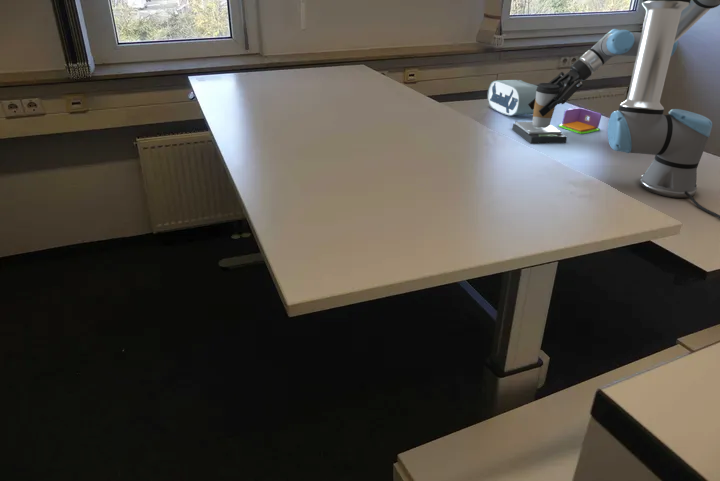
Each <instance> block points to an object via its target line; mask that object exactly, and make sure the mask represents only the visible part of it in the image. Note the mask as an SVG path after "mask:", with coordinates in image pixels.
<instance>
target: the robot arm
mask: <svg viewBox="0 0 720 481" xmlns="http://www.w3.org/2000/svg"><path fill="white" fill-rule="evenodd" d="M641 5H642V7H643V8H644V9H645V16H644V21H643V24H642V29H641V32H636V31H635V32H634V31H631V30H628V29H617V28H612V29H611V30H610V31H609V32H607V33H605V34H604V36H602V38H601V39H599V40H598V41H597V42H596V43H595V44H594V45H593V46H592V47H591V48H589V49H588V50H587V51H586V52H584V53H583V54H582V55H581V56H580V57H579V59H577V60H575V61H574V62H573V63H572V64H571V65H570V66H569V69H570V70H569V71H567V72H566V73H564V71H561V72H559V74H557V76H555V77H553V79H551V80H550V81H549V82H548V83H552V84H556V85H559V89H560V91H559V93H558V95H557V96H556V97H554V99H555V100H554V99H552V100H550V101H549V102H548V103H547V104H546V105H545V106H544V107H542V108H541V109H540V110H539V113H540V114H541V115H542V116H544V115H546V114H547V113H548V112H549V111H550V110H551V109H553V108H554V107H555V108H556V107H557V105H560V104H561V105H564V104H566V102H568V100H569V99H570V98H571V97H572V96H574V94H575V93H576V92H577V91H578V90H579V89H580V88H582V87H583V86H584V83H583V82H585V81H587V79H589V78H590V77H591V76H592V74H594V73H595V72H596V71H598V70H600V68H601V67H602V66H604V64H605V63H607V62H608V61H609V60H610V59H612V58H613V57H615V56H626V57H627V56H628V57H635V61H634V65H633V70H632V75H631V79H630V83H629V88H628V92H627V96H626V98H625V100H624V101H623V102H621V103H620V104H619V108H618V110H615V111H612V112H611V114H610V116H609V119H608V124H607V138H608V139H607V140H608V144H609V146H610V148H611V149H612V150H613V151H615V152H621V153H625V154H642V155H652V156H653V155H654V158H653V160H652V162H651V163H650V165H649V166H648V168H647V169H646V171H645V172H643V174H642V175H641V176H640V179H639V185H640V186H641V187H642V188H643V189H644V190H646V191H649V192H651V193H653V194H654V195H655V194H656V195H659V196H662V197H667V198H672V199H673V198H674V199H690V200H691V202H692V203H693V204H694V205H695V207H697V208H699V209H701V210H702V211H704V212H706V213H708V214H710V215H712V216H714V217H716V218H718V219H720V214H718V213H717V212H714V211H712V210H709V209H708V208H706V207H704V206H702V205H701V204H699V202H697V201H696V199H695V198H694V196H695V195H696V192H697V188H698V187H697V186H698V184H697V180H698V179H697V178H698V176H697V174H698V173H697V170H698V167H699V164H700V161H701V159H702V156H703V154H704V151H705V148H706V147H707V146H706V145H707V143H708V141H709V138H710V137H711V132H712V128H713V122H712V120H711V119H709V118H708V117H707V116H705V115H702V114H699V113H697V112H692V111H688V110H685V109H681V108H672V109H670V110H669V111H668V114H664V110H665V108H664V106H663V105H662V104H661V98H662V94H663V90H664V87H665V86H664V85H665V81H666V77H667V74H668V69H669V65H670V61H671V57H672V56H673V55H674V54H675V52H676V51H677V48H678V45H679V39H681V38H682V37H683V36H684V35H685V34H686V33H687V32H688V31H689V30H691V28H692V27H693V26H694V25H695V24H696V23H697V22H698V21H700V20H701V18H703V17H704V16H705V15H706V14H707V13H708V11H710V10H712V9H715V8H718V7H719V6H720V0H642V2H641ZM535 99H536V98H535ZM535 99H534V100H532V101H531V102H530V103H529V104H528V105H529V107H530V108H531V109H532V110H533V109H534V105H535Z"/></svg>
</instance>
